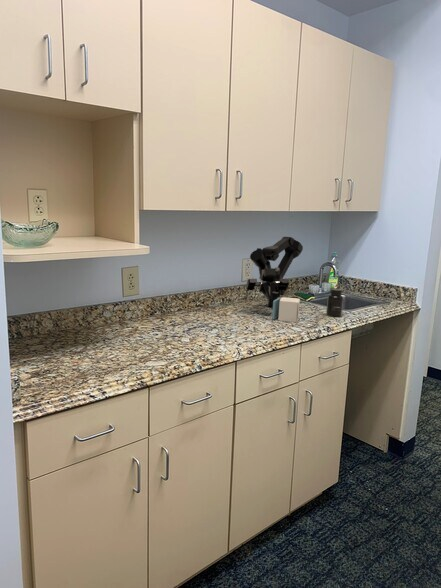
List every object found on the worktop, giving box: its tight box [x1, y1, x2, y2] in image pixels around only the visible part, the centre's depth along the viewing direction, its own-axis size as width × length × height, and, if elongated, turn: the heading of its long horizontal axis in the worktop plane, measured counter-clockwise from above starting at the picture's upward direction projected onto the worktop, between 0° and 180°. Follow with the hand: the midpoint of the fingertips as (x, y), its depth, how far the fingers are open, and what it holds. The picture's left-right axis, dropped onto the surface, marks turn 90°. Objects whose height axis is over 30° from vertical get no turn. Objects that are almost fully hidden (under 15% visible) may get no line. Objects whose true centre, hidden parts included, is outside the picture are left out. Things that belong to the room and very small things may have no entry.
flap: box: [271, 297, 282, 320], centre depth 197 cm, size 9×2×8 cm, turn 156°
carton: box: [277, 296, 301, 323], centre depth 196 cm, size 9×8×8 cm
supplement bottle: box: [325, 288, 344, 318], centre depth 207 cm, size 7×7×12 cm
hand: (270, 300), depth 199 cm, fingers closed
